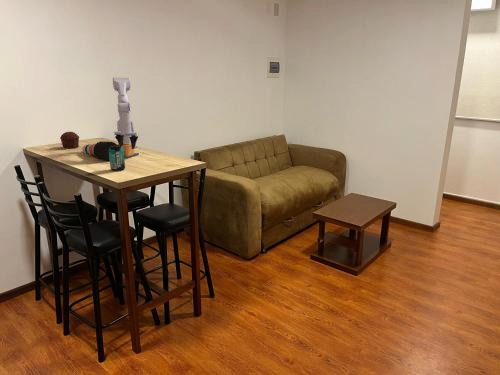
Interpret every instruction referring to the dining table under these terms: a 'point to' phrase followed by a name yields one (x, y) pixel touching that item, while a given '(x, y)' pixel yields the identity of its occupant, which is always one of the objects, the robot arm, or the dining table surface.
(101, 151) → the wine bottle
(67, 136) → the muffin
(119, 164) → the beverage can
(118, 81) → the robot arm
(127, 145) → the orange hollow block
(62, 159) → the dining table surface
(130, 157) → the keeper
